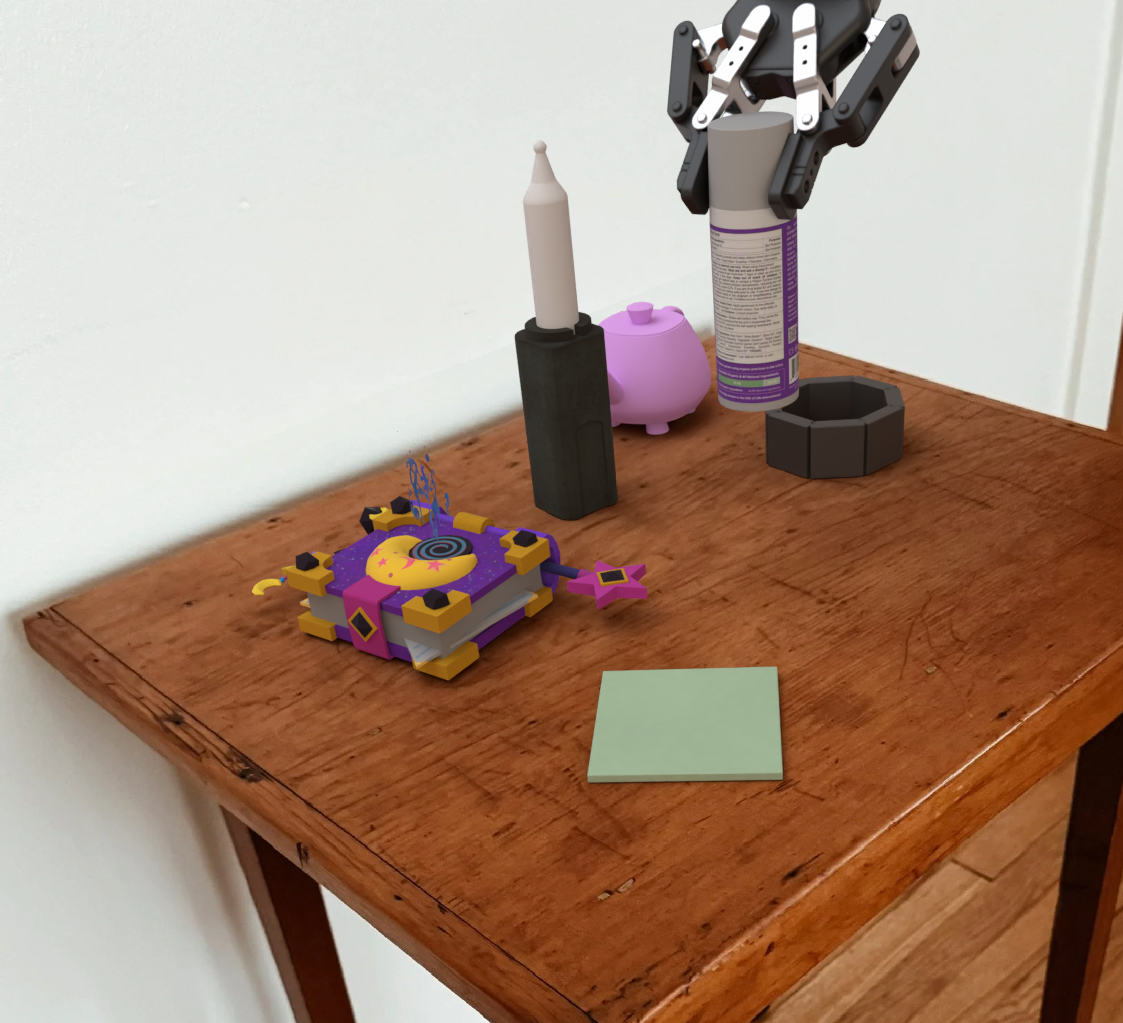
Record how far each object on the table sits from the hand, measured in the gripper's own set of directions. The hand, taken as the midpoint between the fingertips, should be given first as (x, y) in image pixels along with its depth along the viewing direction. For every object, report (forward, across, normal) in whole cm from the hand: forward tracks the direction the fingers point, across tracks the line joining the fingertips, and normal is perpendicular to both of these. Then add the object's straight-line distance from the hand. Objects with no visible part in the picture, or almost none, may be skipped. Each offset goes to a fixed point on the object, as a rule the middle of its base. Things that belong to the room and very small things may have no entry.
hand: (735, 207), depth 68 cm
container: (+7, 0, +9) cm, 11 cm away
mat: (+26, +3, +7) cm, 27 cm away
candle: (+12, -18, +22) cm, 31 cm away
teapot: (+1, -22, +33) cm, 40 cm away
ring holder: (+1, -5, +33) cm, 33 cm away
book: (+24, -16, +10) cm, 31 cm away
